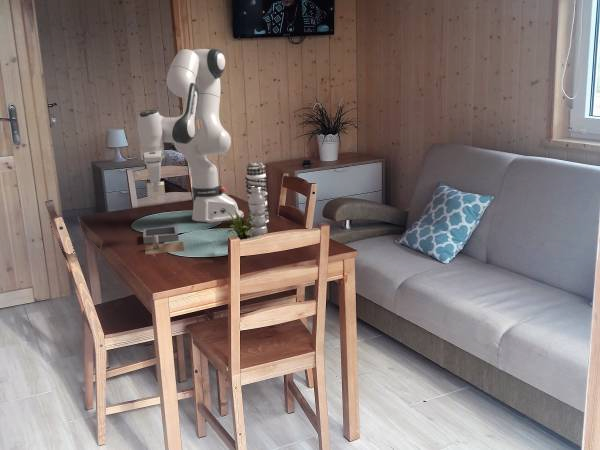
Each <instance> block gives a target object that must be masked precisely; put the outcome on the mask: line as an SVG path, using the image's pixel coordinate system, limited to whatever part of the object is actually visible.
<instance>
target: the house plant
mask: <svg viewBox="0 0 600 450" xmlns="http://www.w3.org/2000/svg"><path fill="white" fill-rule="evenodd" d="M227 213H228V212H227ZM235 213H236V218H237V219H234V218H233V216H232V215H231V214H230V213H228V214H229V215H230V216H231V217H232V220H231V219H230V218H229V219H230V220H227V219H226V220H225V221H228V222H229V223H230V224H231V225H230V226H229V228H231V229H227V228H226V227H225V228H222V229H225V230H227V231H226V234H229V233H231V232H232V233H233V231H234V232H235V236H237V237H239V238H240V239H241V240H242V239H247V238H251V237H252V235H251V233H250V232H251V231H252V230H254V229H256V228H254V229H252V230H251V231H250V228H252V227H254V226H251V223H250V222H251V221H252V220H253V219H254V217H255V216H257V215H258V214H257V215H255V216H254V217H253V218H252V219H251V221H250V220H249V217H250V214H249V213H248V214H249V216H248V217H247V219H245V220H244V222H243V217H242V216H241V217H240V216H239V215H238V214H237V212H236V211H235ZM242 213H243V214H244V211H242ZM243 214H242V215H243ZM227 218H228V217H227ZM249 221H250V222H249ZM249 225H250V226H249ZM252 238H253V237H252Z"/></svg>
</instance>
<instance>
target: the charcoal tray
mask: <svg viewBox="0 0 600 450" xmlns="http://www.w3.org/2000/svg"><path fill="white" fill-rule="evenodd" d="M142 232H143V233H142V238H143V245H150V244H153V238H152V236H153V235H158V242H159V243H170V242H177V241H178V242H180V241H179V239H180V238H179V232H178V226H177V225H171V226H160V227H152V228H150V227H149V228H143V230H142Z"/></svg>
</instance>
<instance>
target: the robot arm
mask: <svg viewBox="0 0 600 450" xmlns="http://www.w3.org/2000/svg"><path fill="white" fill-rule="evenodd" d="M226 61H227V60H226V56H225V54H224V52H223V51H222V50H221V49H217V48H197V49H192V50H191V49H187V48H185V49H181V50H179V51H178V52H177V53H176V55H175V57H174V58H173V61H171V64H170V67H169V70H168V72H167V75H166V79H165V80H166V86H167V88H168V89H169V90H170V91H171V92H172V94H174V95H175V96H177V97H179V98H181V99H183V100H184V102H183V108H182V114H181V115H179V116H176V117H175V116H174V117H173V116H169V117H167V116H163V115H161V114H160V112H159V110H157V109H148V110H144V111H141V112H140V113H139V114H138V116H137V131H138V132H137V133H138V137H139V141H140V144H139V151H140V159H141V160H142V161H143V162H144V164H145V165H146V170H147V174H148V179H149V183H153V188H154V192H158V191H159V189H158V182H161V171H162V170H161V168H162V167H161V166H162V165H161V164H162V162H163V160H164V159H165V158H166V156H165V146H164V143H173V144H174V148H175V150H176V151H177V152H178V153H180V154H181V155H182V157H184V159H185V160H186V162H187V163H188V166H189V168H190V172H191V173H190V174H191V179H192V180H191V181H192V187H191V193H192V199H193V211H192V216H191V220H192V221H194V222H203V223H209V224H210V223H217V222H225V221H228V220H229V221H231V220H232V221H233V219H232V217H231V216H230V215H229V214H228V213H230V214H231V215H232V216H233V218H234V220H237V218H236V213H235V211H236V212H237V214H238V215H239V216H240V217H241V216H242V218H243V217H244V215H245V213H244V212H243V211H242V210H240V209H239V207H238V203H237V201H235V199H233V198H232V197H230V196H229V195H227V194H226V193H225V192H226V187H224V186H222V185H220V184H219V173H218V168H217V166H216V165H215V164H214V163H212V162H211V161H210V160H209V159H208V158H207V156H206V155H208V156H209V155H211V156H214V155H215V156H216V155H220V154H226V153H228V151H229V150H230V148H231V145H232V138H231V135H230V133H229V132H228V131H227V130H226V129H225V128H224V127H223V125H222V123H221V121H220V119H221V118H220V106H221V105H220V103H221V94H222V93H221V91H222V90H221V89H222V88H221V76H222V75H223V73H224V71H225V69H226V65H227V62H226ZM196 79H197V81H196ZM196 119H197V120H199V121H200V122H201V128H196ZM227 212H228V213H227ZM242 212H243V213H242ZM242 214H243V215H242ZM227 217H228V218H227ZM229 218H230V219H231V220H230V219H229ZM226 219H227V220H226Z"/></svg>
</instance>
